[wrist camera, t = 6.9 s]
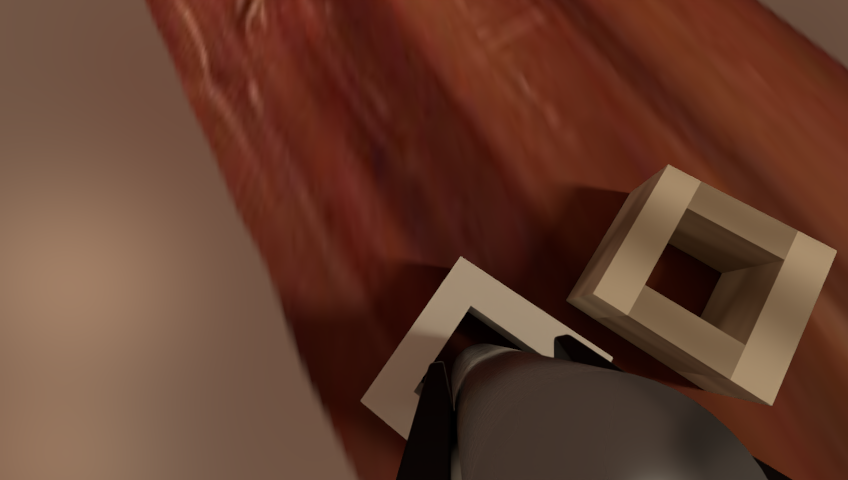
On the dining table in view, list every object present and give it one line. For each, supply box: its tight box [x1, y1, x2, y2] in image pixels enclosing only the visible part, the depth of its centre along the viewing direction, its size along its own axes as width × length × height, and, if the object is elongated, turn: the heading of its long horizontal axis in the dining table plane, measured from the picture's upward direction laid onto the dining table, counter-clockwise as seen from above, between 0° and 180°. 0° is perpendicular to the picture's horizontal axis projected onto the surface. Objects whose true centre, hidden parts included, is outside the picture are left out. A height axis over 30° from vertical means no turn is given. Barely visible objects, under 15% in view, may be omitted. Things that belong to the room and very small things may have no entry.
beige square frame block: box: [566, 165, 837, 406], centre depth 17 cm, size 8×8×4 cm
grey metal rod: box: [451, 343, 768, 480], centre depth 9 cm, size 3×3×12 cm
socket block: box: [361, 257, 613, 440], centre depth 16 cm, size 8×8×4 cm
